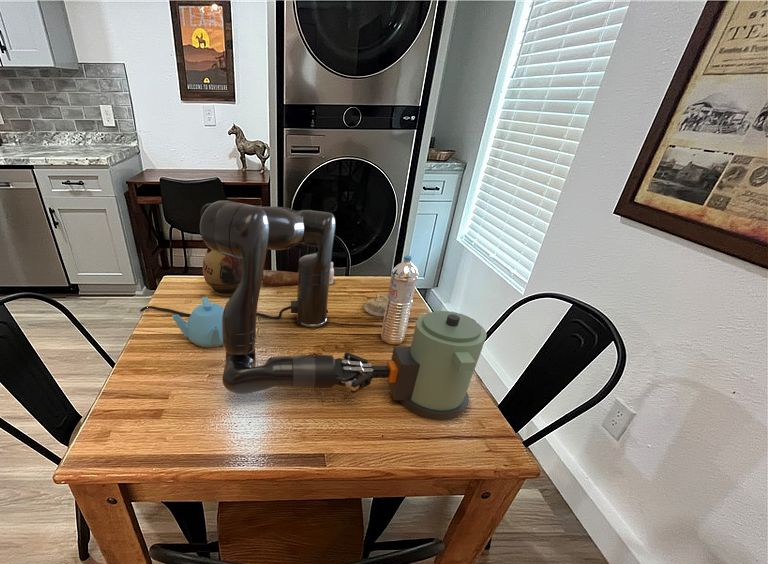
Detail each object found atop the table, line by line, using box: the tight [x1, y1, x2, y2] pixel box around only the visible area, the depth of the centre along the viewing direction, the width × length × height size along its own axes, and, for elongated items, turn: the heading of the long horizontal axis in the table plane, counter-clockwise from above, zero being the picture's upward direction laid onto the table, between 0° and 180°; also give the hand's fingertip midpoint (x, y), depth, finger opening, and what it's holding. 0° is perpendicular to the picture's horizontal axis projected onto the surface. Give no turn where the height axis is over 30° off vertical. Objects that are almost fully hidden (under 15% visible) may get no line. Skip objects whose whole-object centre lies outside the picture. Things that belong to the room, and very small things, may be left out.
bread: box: [261, 269, 298, 286], centre depth 143 cm, size 6×19×6 cm, turn 95°
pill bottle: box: [329, 261, 335, 285], centre depth 144 cm, size 4×4×8 cm
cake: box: [363, 294, 388, 317], centre depth 127 cm, size 10×10×5 cm
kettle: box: [386, 310, 488, 421], centre depth 86 cm, size 18×23×22 cm
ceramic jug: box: [199, 202, 243, 297], centre depth 130 cm, size 17×15×30 cm
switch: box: [386, 360, 398, 383], centre depth 87 cm, size 2×4×4 cm, turn 1°
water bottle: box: [380, 254, 419, 346], centre depth 106 cm, size 7×7×25 cm
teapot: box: [172, 296, 225, 348], centre depth 110 cm, size 15×15×11 cm
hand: (388, 371), depth 87 cm, fingers closed
